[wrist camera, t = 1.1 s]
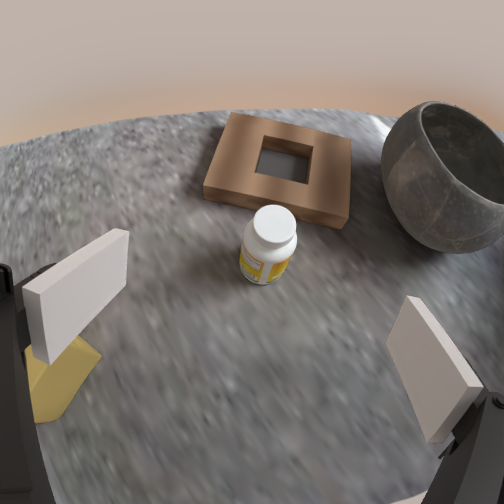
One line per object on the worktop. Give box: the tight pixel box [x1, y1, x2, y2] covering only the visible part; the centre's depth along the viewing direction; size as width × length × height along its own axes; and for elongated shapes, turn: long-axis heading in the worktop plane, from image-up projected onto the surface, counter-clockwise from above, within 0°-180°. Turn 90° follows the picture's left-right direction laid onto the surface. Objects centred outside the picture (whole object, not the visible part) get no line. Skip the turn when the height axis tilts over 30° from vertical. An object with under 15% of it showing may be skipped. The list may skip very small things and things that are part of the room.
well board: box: [203, 112, 351, 230], centre depth 43 cm, size 18×14×3 cm
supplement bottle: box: [239, 205, 297, 285], centre depth 34 cm, size 5×5×10 cm
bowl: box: [381, 101, 504, 254], centre depth 37 cm, size 20×20×15 cm
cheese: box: [25, 335, 102, 423], centre depth 26 cm, size 10×11×10 cm
